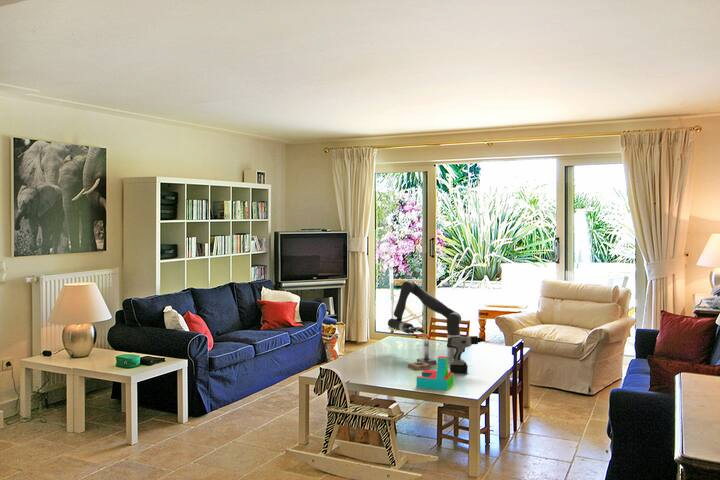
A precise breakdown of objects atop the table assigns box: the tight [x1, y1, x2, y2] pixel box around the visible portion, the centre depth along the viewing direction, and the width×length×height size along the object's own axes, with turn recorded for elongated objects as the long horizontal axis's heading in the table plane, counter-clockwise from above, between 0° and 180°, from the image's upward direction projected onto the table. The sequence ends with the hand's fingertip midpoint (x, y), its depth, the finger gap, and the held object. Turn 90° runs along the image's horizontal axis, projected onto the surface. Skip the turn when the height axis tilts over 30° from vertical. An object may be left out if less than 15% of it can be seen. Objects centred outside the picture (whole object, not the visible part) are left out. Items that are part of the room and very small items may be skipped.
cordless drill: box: [446, 335, 485, 375], centre depth 409 cm, size 8×24×25 cm, turn 78°
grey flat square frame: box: [416, 357, 437, 365], centre depth 436 cm, size 10×10×2 cm
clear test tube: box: [423, 339, 430, 360], centre depth 436 cm, size 3×3×16 cm
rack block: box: [407, 361, 432, 371], centre depth 422 cm, size 12×10×2 cm
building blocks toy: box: [416, 355, 455, 391], centre depth 381 cm, size 19×25×18 cm
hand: (418, 331), depth 445 cm, fingers open, 8 cm apart
